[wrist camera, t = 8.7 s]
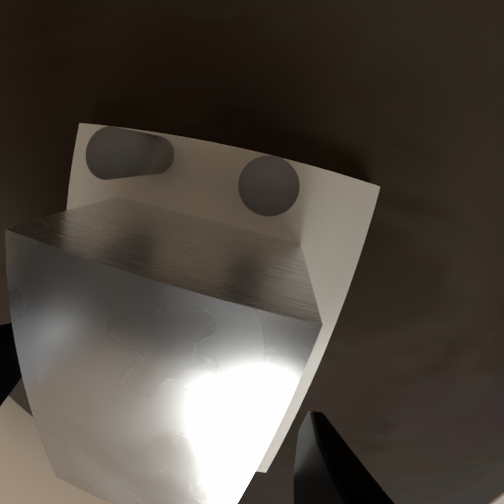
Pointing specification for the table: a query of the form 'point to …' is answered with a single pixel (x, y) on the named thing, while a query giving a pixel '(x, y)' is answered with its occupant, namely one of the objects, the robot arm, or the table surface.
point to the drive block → (157, 347)
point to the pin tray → (237, 208)
